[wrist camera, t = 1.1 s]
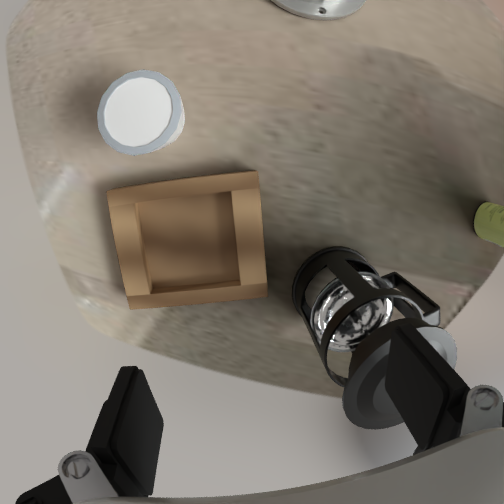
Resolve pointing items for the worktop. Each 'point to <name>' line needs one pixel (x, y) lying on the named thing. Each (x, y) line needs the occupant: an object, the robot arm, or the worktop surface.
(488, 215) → the tube
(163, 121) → the white tapered cylinder
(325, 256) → the french press
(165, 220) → the tray
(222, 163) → the worktop surface
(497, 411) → the robot arm
